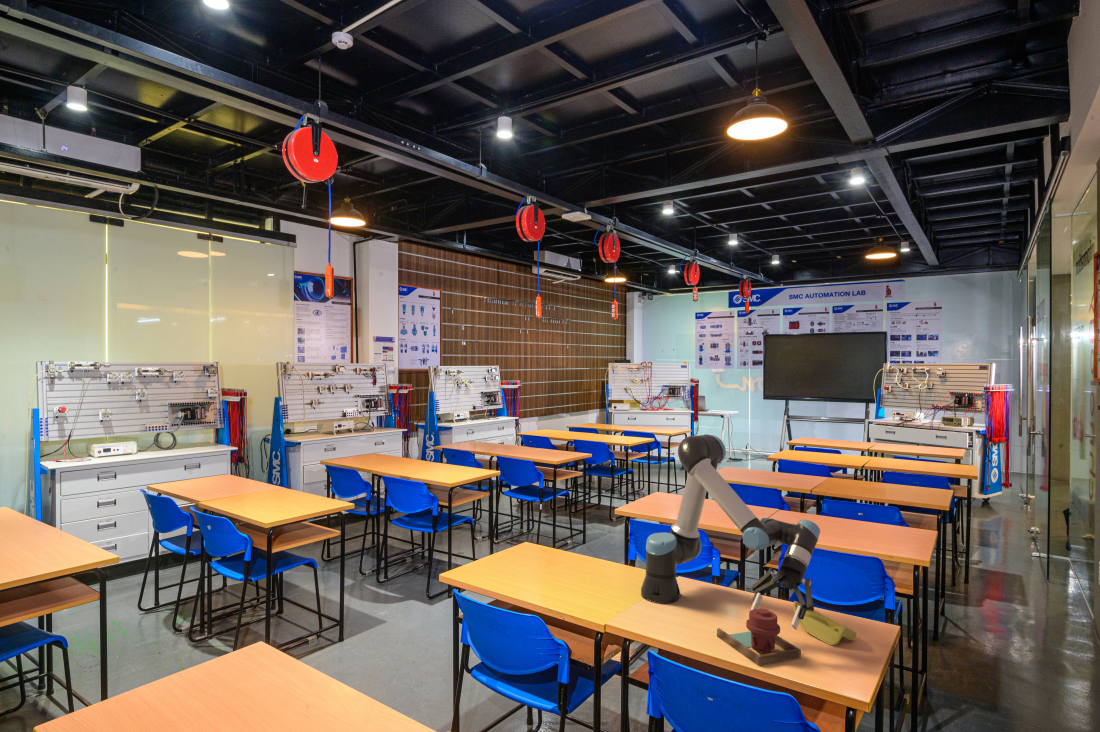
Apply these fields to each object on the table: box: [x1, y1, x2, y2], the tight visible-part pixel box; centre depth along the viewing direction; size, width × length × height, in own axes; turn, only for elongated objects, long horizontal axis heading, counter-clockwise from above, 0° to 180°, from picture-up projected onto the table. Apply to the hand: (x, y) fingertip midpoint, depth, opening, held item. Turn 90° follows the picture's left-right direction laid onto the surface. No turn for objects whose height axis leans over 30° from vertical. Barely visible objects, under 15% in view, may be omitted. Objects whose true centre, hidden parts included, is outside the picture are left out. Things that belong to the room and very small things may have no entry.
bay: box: [716, 627, 802, 667], centre depth 177 cm, size 20×16×2 cm
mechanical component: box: [745, 607, 781, 655], centre depth 174 cm, size 12×10×10 cm
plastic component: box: [793, 600, 858, 646], centre depth 189 cm, size 20×7×10 cm
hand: (772, 619), depth 176 cm, fingers open, 13 cm apart
